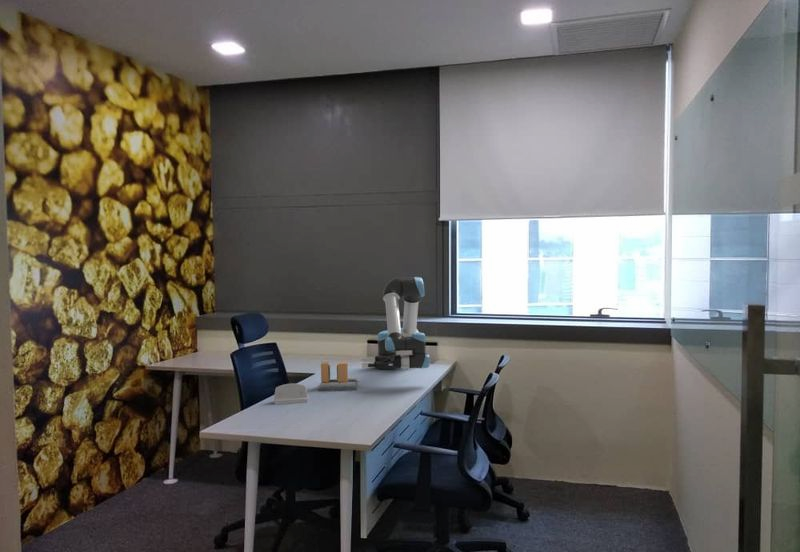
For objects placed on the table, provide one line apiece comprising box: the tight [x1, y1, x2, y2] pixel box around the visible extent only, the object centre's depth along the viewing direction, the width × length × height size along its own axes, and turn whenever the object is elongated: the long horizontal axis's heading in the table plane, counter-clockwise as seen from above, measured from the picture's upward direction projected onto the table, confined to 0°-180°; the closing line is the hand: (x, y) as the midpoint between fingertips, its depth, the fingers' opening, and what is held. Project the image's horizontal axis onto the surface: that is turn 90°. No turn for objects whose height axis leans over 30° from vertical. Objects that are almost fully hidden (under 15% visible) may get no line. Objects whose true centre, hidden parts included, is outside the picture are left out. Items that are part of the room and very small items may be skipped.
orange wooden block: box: [336, 361, 349, 382], centre depth 312 cm, size 5×6×12 cm
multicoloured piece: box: [318, 361, 359, 392], centre depth 312 cm, size 14×20×14 cm
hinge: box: [273, 383, 309, 406], centre depth 286 cm, size 17×5×10 cm, turn 100°
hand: (362, 362), depth 313 cm, fingers open, 13 cm apart
